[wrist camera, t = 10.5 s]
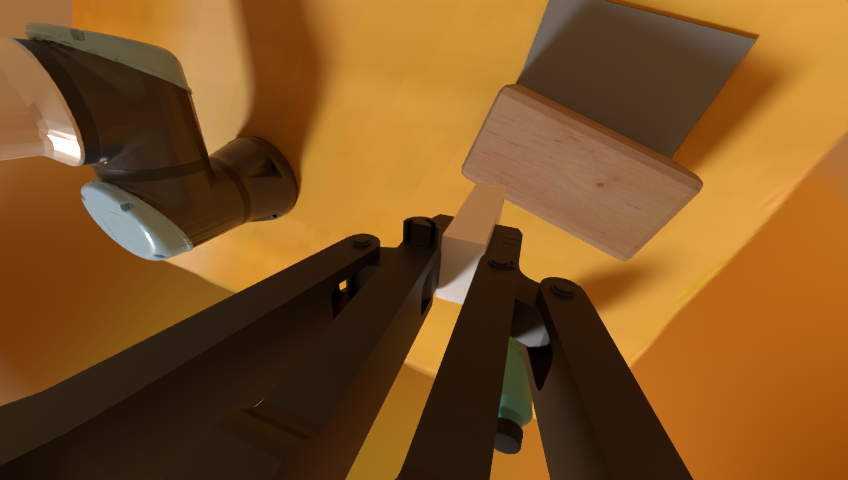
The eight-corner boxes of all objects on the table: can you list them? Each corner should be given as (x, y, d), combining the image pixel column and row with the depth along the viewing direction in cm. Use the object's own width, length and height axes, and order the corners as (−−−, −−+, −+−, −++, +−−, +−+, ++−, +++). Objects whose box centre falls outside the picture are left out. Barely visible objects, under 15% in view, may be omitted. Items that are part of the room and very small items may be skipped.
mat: (479, 182, 43) (479, 183, 42) (554, -12, 31) (554, -13, 30) (614, 233, 39) (614, 235, 39) (754, 39, 28) (756, 39, 27)
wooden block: (503, 80, 27) (714, 184, 25) (512, 80, 35) (672, 159, 33) (456, 176, 32) (626, 267, 31) (474, 157, 41) (609, 228, 39)
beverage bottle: (489, 322, 53) (463, 432, 37) (520, 308, 50) (508, 422, 33) (511, 347, 54) (497, 466, 37) (544, 335, 50) (544, 460, 34)
